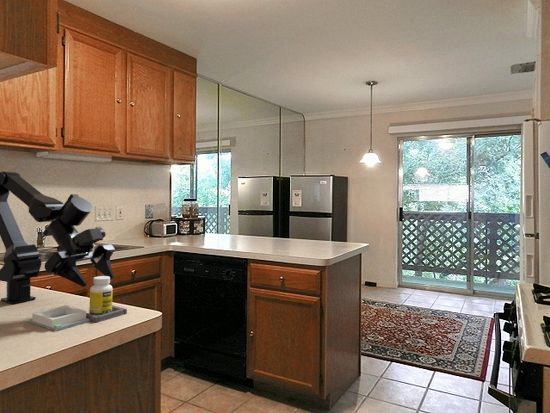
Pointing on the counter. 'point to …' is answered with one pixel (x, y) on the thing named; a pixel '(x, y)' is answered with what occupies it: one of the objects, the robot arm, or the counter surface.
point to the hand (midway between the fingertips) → (99, 282)
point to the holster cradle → (107, 314)
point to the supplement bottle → (101, 296)
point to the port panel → (59, 317)
